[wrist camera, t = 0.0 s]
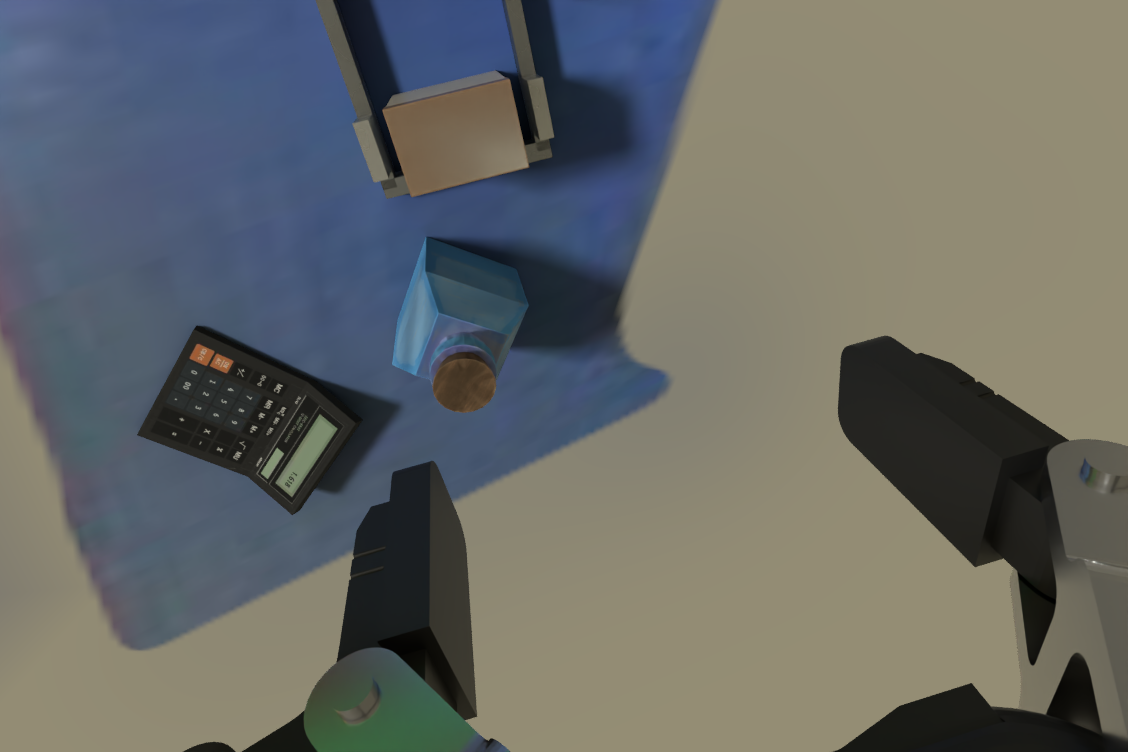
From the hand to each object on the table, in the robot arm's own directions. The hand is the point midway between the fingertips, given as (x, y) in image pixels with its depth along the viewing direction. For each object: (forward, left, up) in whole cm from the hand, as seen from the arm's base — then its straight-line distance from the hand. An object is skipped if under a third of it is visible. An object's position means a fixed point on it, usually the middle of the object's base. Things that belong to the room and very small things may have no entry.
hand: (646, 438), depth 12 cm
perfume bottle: (+8, -5, -30) cm, 31 cm away
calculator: (+13, -21, -30) cm, 39 cm away
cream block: (-2, -2, -29) cm, 29 cm away
